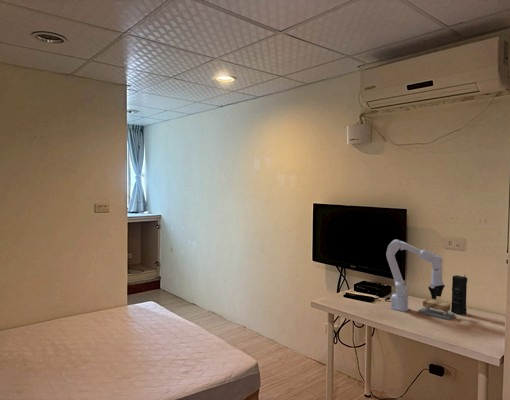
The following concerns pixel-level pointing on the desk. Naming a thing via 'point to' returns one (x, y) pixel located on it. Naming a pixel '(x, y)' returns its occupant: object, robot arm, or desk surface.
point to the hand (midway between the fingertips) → (436, 297)
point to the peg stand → (436, 313)
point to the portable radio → (459, 295)
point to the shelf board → (436, 305)
